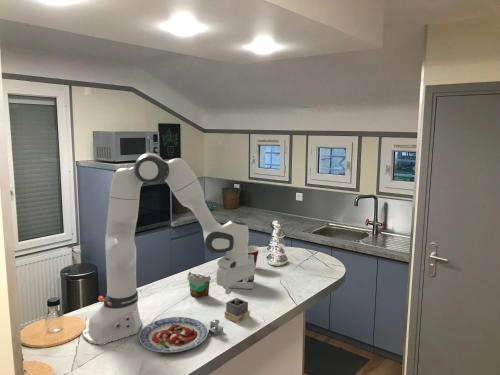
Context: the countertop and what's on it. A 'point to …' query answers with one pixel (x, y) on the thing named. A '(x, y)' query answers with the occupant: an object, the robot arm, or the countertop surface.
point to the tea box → (238, 284)
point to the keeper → (237, 318)
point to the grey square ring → (236, 307)
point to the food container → (198, 285)
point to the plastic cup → (253, 252)
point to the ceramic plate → (173, 334)
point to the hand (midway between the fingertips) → (236, 290)
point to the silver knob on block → (215, 329)
